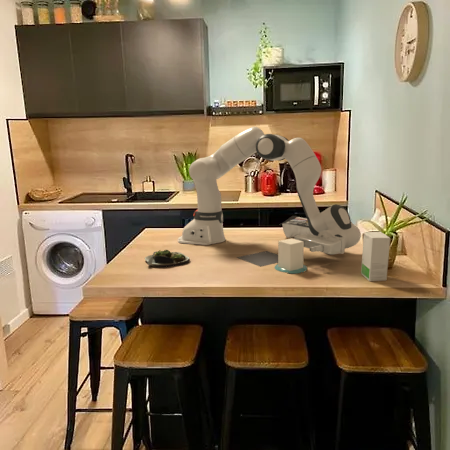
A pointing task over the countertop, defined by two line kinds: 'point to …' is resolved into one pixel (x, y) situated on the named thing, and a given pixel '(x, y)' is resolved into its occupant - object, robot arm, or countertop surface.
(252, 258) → the mat
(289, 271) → the teal pot lid
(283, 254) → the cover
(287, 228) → the food packaging
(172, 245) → the countertop surface
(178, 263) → the salad plate
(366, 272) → the skincare box
